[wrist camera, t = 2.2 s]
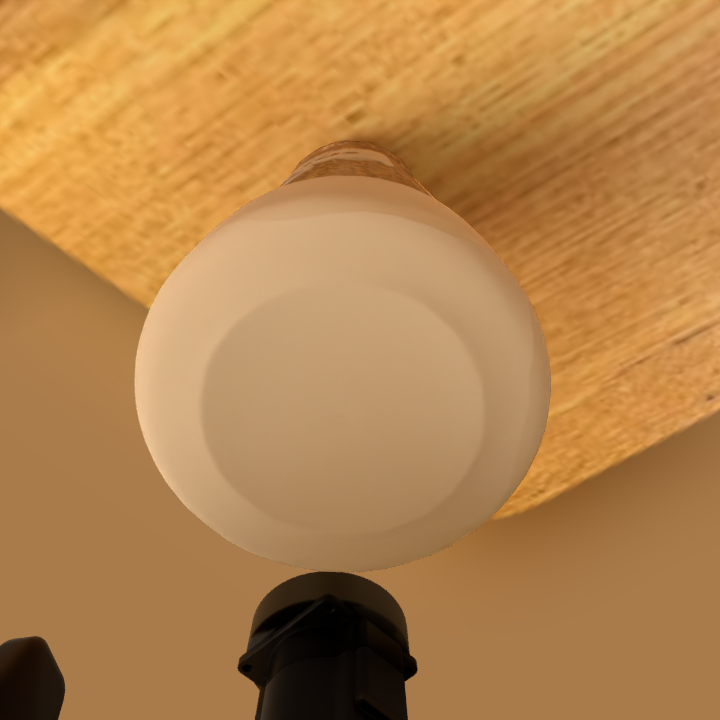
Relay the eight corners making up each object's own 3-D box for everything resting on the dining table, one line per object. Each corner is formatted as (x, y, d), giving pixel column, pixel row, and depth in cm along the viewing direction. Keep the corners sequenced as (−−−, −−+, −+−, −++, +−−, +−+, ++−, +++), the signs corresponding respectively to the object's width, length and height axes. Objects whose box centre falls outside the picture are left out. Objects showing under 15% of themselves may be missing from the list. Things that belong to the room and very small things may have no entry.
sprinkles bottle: (314, 113, 17) (206, 101, 5) (449, 181, 18) (655, 318, 6) (258, 253, 19) (69, 510, 6) (385, 309, 20) (435, 638, 7)
